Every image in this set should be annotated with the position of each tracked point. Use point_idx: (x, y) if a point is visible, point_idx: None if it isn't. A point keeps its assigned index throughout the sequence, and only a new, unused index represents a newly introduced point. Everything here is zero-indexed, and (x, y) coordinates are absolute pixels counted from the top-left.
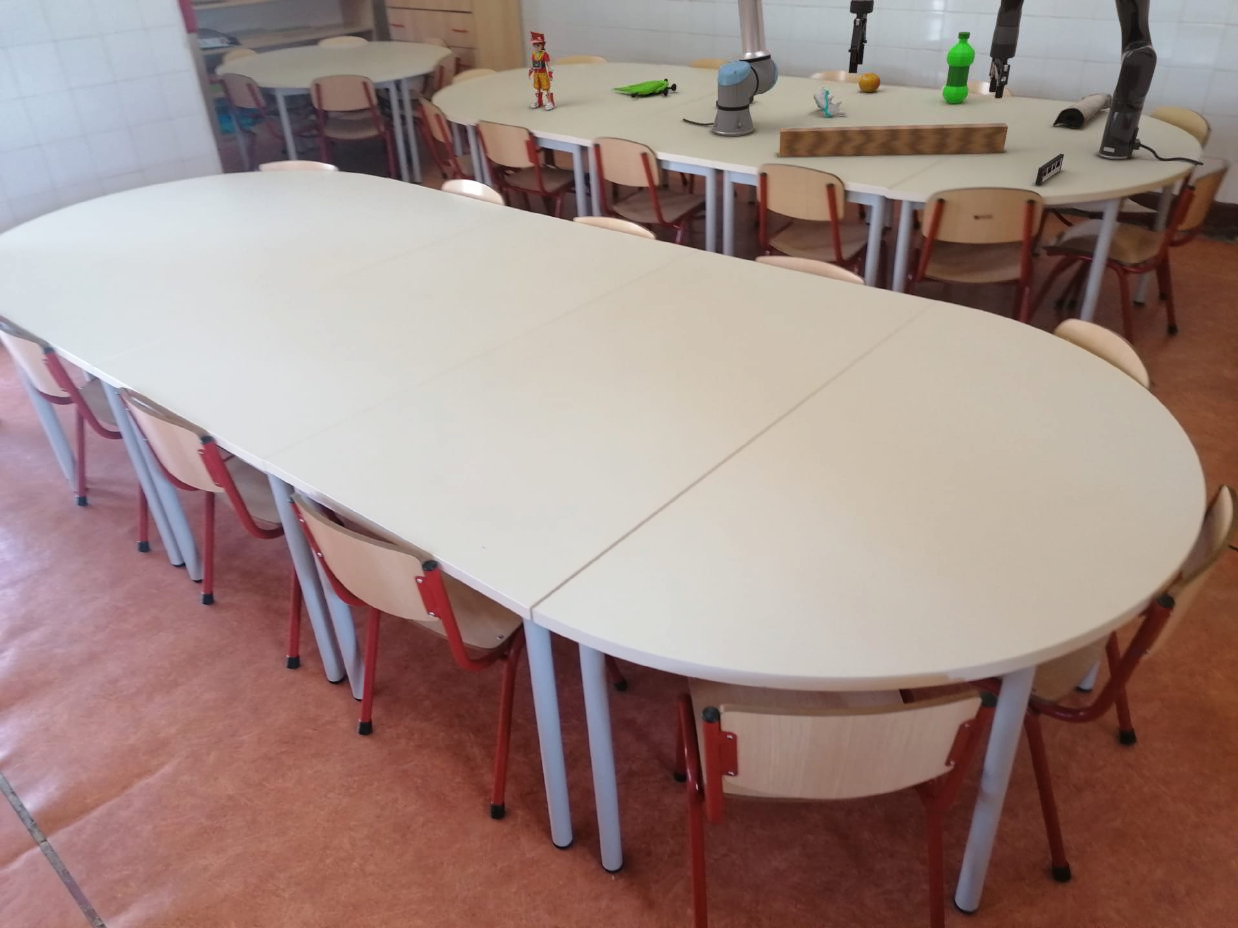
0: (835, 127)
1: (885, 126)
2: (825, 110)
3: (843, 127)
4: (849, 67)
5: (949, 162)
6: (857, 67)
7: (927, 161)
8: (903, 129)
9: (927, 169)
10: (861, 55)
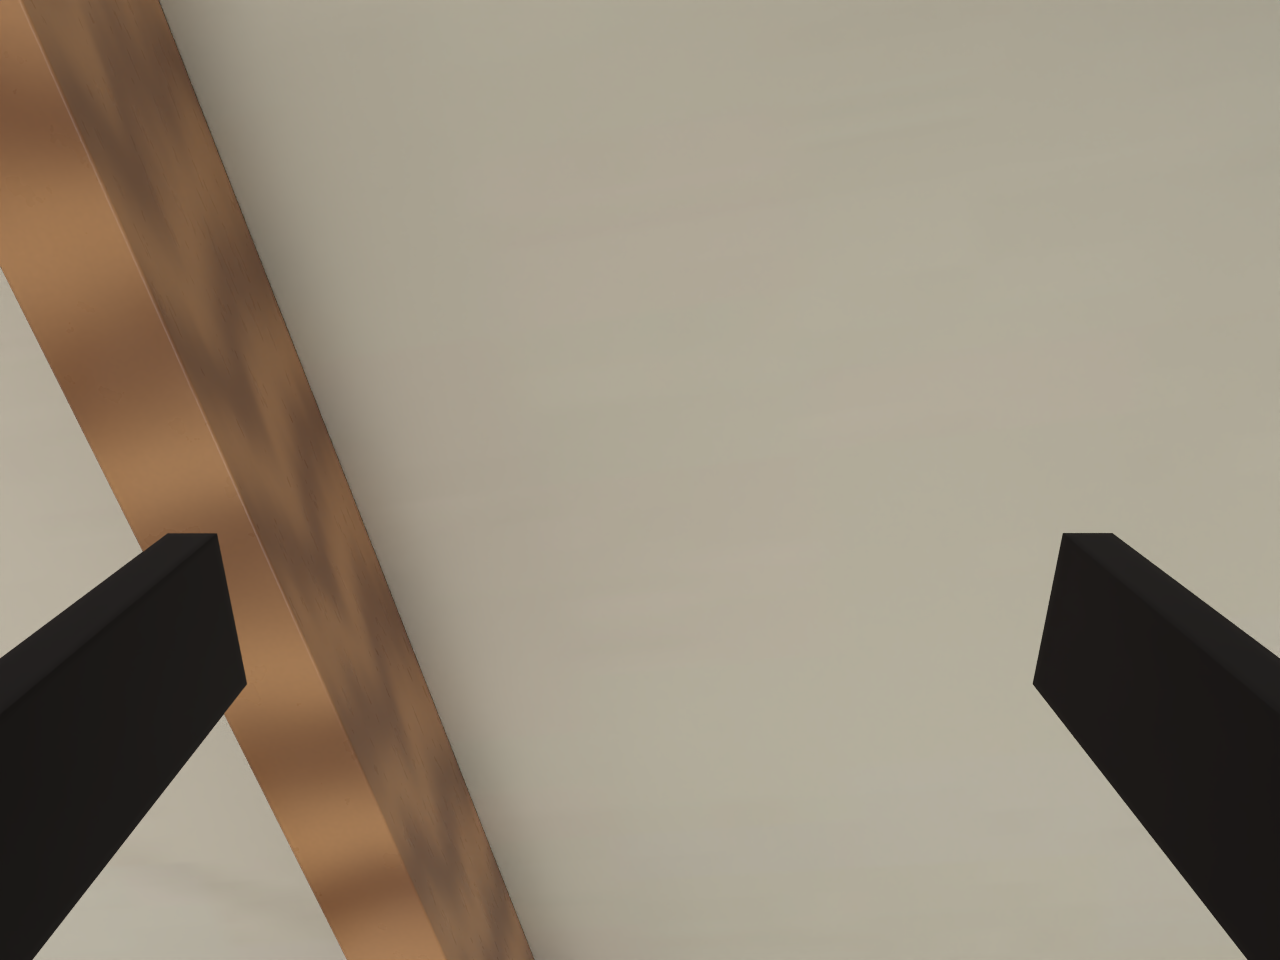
0: (129, 298)
1: (312, 714)
2: None
3: (158, 377)
4: (97, 599)
5: (284, 943)
6: (183, 755)
7: (264, 851)
8: (286, 832)
9: (110, 861)
10: (1150, 784)
